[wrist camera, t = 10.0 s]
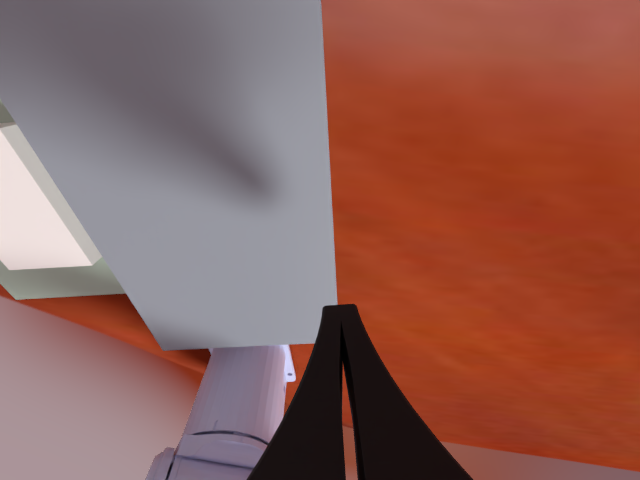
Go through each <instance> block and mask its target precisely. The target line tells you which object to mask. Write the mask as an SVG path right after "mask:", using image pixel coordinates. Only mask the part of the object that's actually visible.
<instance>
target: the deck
mask: <svg viewBox="0 0 640 480" xmlns="http://www.w3.org/2000/svg"><path fill="white" fill-rule="evenodd" d="M0 99H1V101H2V103H3V104H4V106H5V107H6V109H7V110H8V112H9V113H10V115H11V116H12V118H13V120H14V121H15V123H16V124H17V126H18V127H19V129H20V130H21V132H22V133H23V135H24V137H25V138H26V140H27V141H28V143H29V144H30V146H31V147H32V149H33V150H34V152H35V154H36V155H37V157H38V158H39V160H40V161H41V163H42V164H43V166H44V167H45V169H46V171H47V172H48V174H49V175H50V177H51V178H52V180H53V181H54V183H55V184H56V186H57V188H58V189H59V191H60V192H61V194H62V195H63V197H64V198H65V200H66V201H67V203H68V205H69V206H70V208H71V209H72V211H73V212H74V214H75V215H76V217H77V218H78V220H79V222H80V223H81V225H82V226H83V228H84V229H85V231H86V232H87V234H88V235H89V237H90V239H91V240H92V242H93V243H94V245H95V246H96V248H97V249H98V251H99V252H100V254H101V256H102V257H103V259H104V260H105V262H106V263H107V265H108V266H109V268H110V269H111V271H112V273H113V274H114V276H115V277H116V279H117V280H118V282H119V283H120V285H121V286H122V288H123V290H124V291H125V293H126V294H127V296H128V297H129V299H130V300H131V302H132V303H133V305H134V307H135V308H136V310H137V311H138V313H139V314H140V316H141V317H142V319H143V320H144V322H145V324H146V325H147V327H148V328H149V330H150V331H151V333H152V334H153V336H154V337H155V339H156V341H157V342H158V344H159V345H160V347H161V348H162V350H163V351H165V350H185V349H206V348H226V347H247V346H267V345H287V344H308V343H315V341H316V338H317V334H318V331H319V327H320V322H321V317H322V308H323V307H324V306H327V305H337V290H336V271H335V252H334V234H333V215H332V197H331V178H330V159H329V141H328V122H327V104H326V85H325V67H324V48H323V29H322V11H321V0H0Z"/></svg>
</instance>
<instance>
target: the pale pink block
mask: <svg viewBox="0 0 640 480" xmlns="http://www.w3.org/2000/svg"><path fill="white" fill-rule="evenodd" d="M101 257H102V256H101V254H100V252H99V251H98V249H97V248H96V246H95V245H94V243H93V242H92V240H91V239H90V237H89V235H88V234H87V232H86V231H85V229H84V228H83V226H82V225H81V223H80V222H79V220H78V218H77V217H76V215H75V214H74V212H73V211H72V209H71V208H70V206H69V205H68V203H67V201H66V200H65V198H64V197H63V195H62V194H61V192H60V191H59V189H58V188H57V186H56V184H55V183H54V181H53V180H52V178H51V177H50V175H49V174H48V172H47V171H46V169H45V167H44V166H43V164H42V163H41V161H40V160H39V158H38V157H37V155H36V154H35V152H34V150H33V149H32V147H31V146H30V144H29V143H28V141H27V140H26V138H25V137H24V135H23V133H22V132H21V130H20V129H19V127H18V126H17V124H16V123H15V122H8V123H0V260H1V262H2V263H3V264H4V265H5V266H6V267H7V268H8V269H9V270H22V269H39V268H57V267H75V266H92V265H94V264H95V263H96V262H97V261H98V260H99V259H100V258H101Z"/></svg>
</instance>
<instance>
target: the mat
mask: <svg viewBox="0 0 640 480" xmlns="http://www.w3.org/2000/svg"><path fill="white" fill-rule="evenodd" d="M8 122H15V121H14V120H13V118H12V116H11V115H10V113H9V112H8V110H7V109H6V107H5V106H4V104H3V103H2V101H1V99H0V123H8ZM0 284H1V285H2V286H3V287H4V288H5V289H6V290H7V291H8V292H9V293H10V294H11V295H12V296H13V297H14V298H15V299H16V300H20V299H37V298H55V297H72V296H90V295H107V294H125V291H124V290H123V288H122V286H121V285H120V283H119V282H118V280H117V279H116V277H115V276H114V274H113V273H112V271H111V269H110V268H109V266H108V265H107V263H106V262H105V260H104V259H103V257H101V258H100V259H99V260H98V261H97V262H96V263H95V264H94V265H92V266H75V267H57V268H39V269H22V270H9V269H8V268H7V267H6V266H5V265H4V264H3V263H2V262H1V260H0Z"/></svg>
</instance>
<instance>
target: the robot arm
mask: <svg viewBox="0 0 640 480" xmlns="http://www.w3.org/2000/svg"><path fill="white" fill-rule="evenodd" d="M208 349H209V351H210V353H211V357H210V360H209V363H208V365H207V368H206V371H205V374H204V377H203V379H202V382H201V385H200V388H199V390H198V393H197V396H196V399H195V402H194V404H193V407H192V410H191V413H190V416H189V418H188V421H187V424H186V427H185V429H184V433H183V435H182V438H181V440H180V442H179V444H178V446H177V448H176V450H175V451H174V448H170V447H167V448H165V450H164V452H161V453H160V454H158V455H157V456H155V458H154V460H153V462H152V465H151V467H150V470H149V472H148V474H147V477H146V479H145V480H346V476H345V461H344V445H343V430H342V373H343V365H344V371H345V377H346V383H347V389H348V395H349V401H350V408H351V414H352V421H353V429H354V440H355V452H356V463H357V475H358V480H473V479H472V478H471V477H470V476H469V475H468V473H467V472H466V471H465V470H464V469H463V468H462V467H461V466H460V464H459V463H458V462H457V461H456V460H455V459H454V458H453V457H452V455H451V454H450V453H449V452H448V451H447V450H446V448H445V447H444V446H443V445H442V444H441V443H440V441H439V440H438V439H437V438H436V437H435V435H434V434H433V433H432V432H431V430H430V429H429V428H428V426H427V425H426V424H425V423H424V421H423V420H422V419H421V418H420V416H419V415H418V414H417V413H416V411H415V410H414V409H413V407H412V406H411V404H410V403H409V402H408V400H407V399H406V398H405V396H404V395H403V393H402V392H401V390H400V389H399V387H398V386H397V384H396V383H395V381H394V380H393V378H392V377H391V375H390V374H389V372H388V370H387V369H386V367H385V365H384V364H383V362H382V360H381V359H380V357H379V355H378V353H377V352H376V350H375V348H374V346H373V344H372V342H371V340H370V338H369V336H368V334H367V332H366V330H365V328H364V325H363V323H362V321H361V318H360V315H359V313H358V309H357V306H356V305H355V304H345V305H327V306H324V307H323V308H322V317H321V322H320V327H319V331H318V334H317V338H316V341H315V344H314V348H313V351H312V354H311V356H310V359H309V362H308V364H307V367H306V370H305V372H304V375H303V377H302V380H301V382H300V384H299V386H298V389H297V391H296V393H295V395H294V397H293V399H292V401H291V403H290V405H289V407H288V409H287V411H286V413H285V415H284V417H283V413H284V403H285V393H286V383H287V382H293V381H295V380H296V375H295V370H294V366H293V361H292V357H291V352H290V348H289V344H287V345H267V346H247V347H226V348H208Z"/></svg>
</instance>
